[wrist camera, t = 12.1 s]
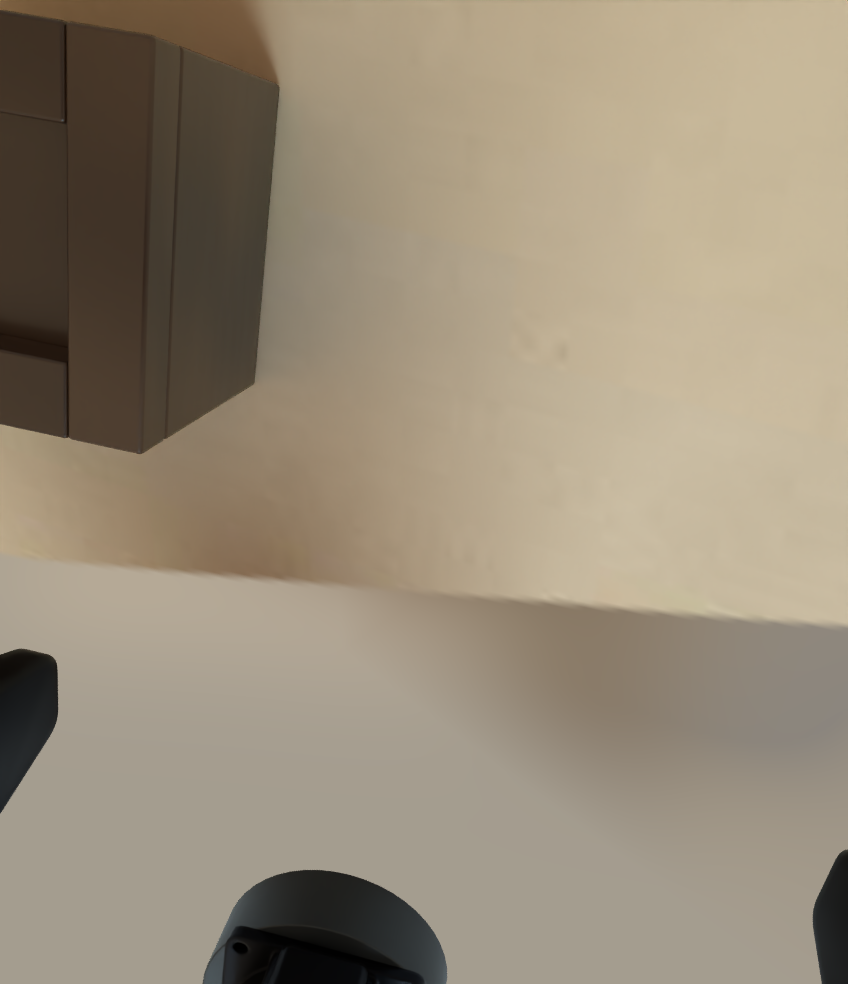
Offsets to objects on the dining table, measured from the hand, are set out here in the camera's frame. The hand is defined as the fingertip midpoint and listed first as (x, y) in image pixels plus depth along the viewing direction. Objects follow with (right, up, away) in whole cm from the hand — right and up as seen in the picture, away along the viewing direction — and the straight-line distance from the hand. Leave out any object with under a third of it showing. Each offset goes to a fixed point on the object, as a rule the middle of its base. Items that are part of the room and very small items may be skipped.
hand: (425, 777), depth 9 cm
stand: (-7, +10, +10) cm, 16 cm away
